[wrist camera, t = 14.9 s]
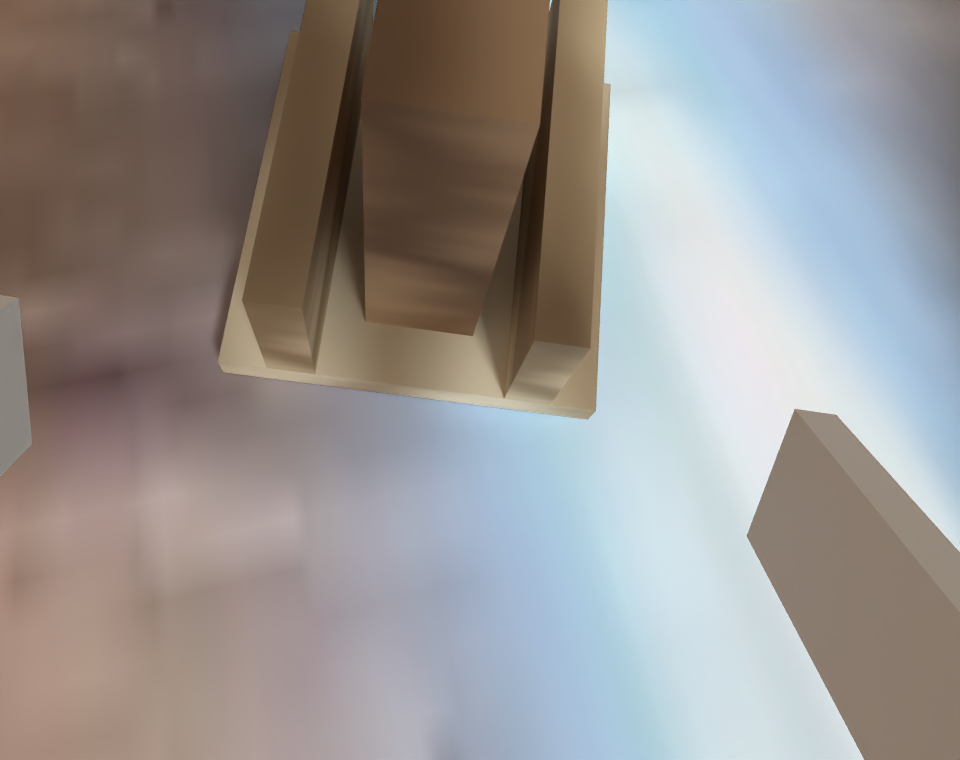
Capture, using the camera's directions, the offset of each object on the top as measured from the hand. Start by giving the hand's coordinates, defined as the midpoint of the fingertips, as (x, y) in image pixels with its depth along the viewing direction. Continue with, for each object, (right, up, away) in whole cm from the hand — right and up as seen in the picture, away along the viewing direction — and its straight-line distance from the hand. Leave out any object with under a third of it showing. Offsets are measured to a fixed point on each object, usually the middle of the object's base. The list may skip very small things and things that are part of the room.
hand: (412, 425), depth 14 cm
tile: (0, +7, +14) cm, 15 cm away
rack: (-1, +6, +14) cm, 16 cm away
